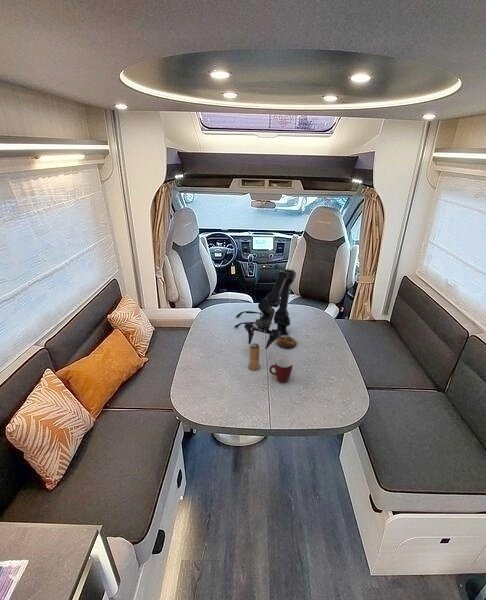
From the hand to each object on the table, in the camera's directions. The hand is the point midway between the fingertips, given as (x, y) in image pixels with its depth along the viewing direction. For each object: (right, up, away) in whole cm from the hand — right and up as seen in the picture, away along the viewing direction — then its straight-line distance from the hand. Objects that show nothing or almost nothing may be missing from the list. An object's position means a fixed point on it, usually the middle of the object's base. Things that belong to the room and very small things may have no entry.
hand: (257, 346), depth 155 cm
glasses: (-5, +8, +46) cm, 47 cm away
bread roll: (+17, -2, +23) cm, 29 cm away
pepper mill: (-2, -11, +1) cm, 11 cm away
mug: (+11, -15, -7) cm, 20 cm away
